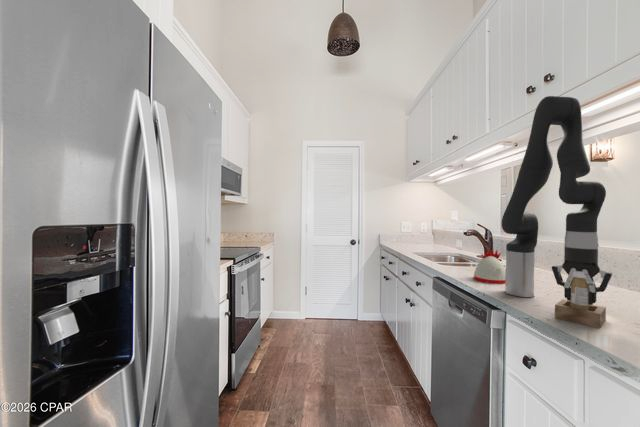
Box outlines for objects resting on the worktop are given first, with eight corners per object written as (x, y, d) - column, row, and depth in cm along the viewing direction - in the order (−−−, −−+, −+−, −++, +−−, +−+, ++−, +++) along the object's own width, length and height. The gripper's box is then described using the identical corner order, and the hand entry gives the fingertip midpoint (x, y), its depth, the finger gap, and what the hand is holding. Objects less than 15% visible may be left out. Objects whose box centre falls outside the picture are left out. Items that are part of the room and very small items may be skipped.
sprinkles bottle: (570, 310, 89) (570, 268, 89) (589, 314, 86) (590, 270, 86) (569, 314, 86) (570, 270, 86) (590, 318, 82) (590, 272, 82)
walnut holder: (554, 317, 86) (555, 304, 86) (562, 311, 93) (563, 298, 93) (600, 328, 79) (600, 314, 79) (605, 320, 85) (605, 307, 85)
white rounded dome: (511, 285, 127) (512, 252, 127) (477, 282, 131) (478, 250, 131) (502, 278, 140) (502, 248, 140) (471, 276, 144) (471, 247, 144)
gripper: (548, 244, 89) (547, 298, 89) (612, 249, 78) (611, 311, 78) (554, 243, 94) (553, 294, 94) (616, 248, 82) (615, 306, 82)
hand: (580, 301), depth 86 cm, fingers closed on sprinkles bottle, 4 cm apart
